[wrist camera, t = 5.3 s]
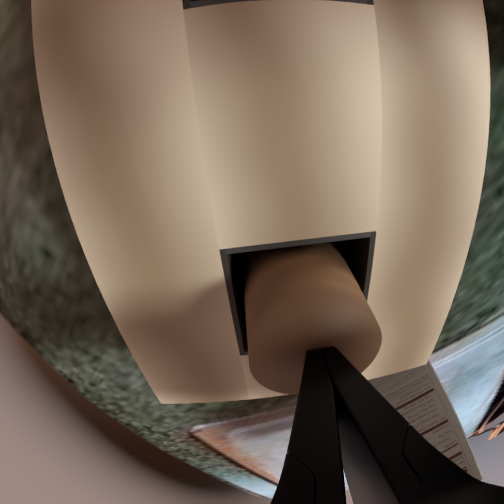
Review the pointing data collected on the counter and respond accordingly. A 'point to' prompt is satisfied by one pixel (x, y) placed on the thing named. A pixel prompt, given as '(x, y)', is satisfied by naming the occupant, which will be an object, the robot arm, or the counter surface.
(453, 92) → the block
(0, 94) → the counter surface
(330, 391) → the robot arm
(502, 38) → the counter surface
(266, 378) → the peg
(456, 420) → the supplement box
